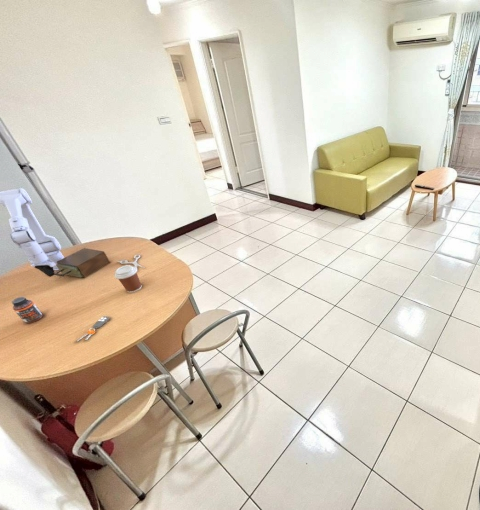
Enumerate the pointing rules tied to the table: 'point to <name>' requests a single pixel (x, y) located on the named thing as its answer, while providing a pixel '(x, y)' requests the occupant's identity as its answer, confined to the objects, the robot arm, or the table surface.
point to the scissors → (132, 262)
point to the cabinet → (86, 261)
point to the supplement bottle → (26, 310)
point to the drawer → (68, 271)
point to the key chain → (96, 326)
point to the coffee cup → (128, 278)
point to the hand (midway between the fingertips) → (51, 275)
